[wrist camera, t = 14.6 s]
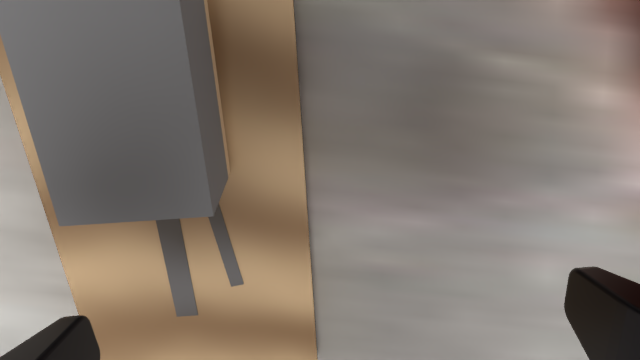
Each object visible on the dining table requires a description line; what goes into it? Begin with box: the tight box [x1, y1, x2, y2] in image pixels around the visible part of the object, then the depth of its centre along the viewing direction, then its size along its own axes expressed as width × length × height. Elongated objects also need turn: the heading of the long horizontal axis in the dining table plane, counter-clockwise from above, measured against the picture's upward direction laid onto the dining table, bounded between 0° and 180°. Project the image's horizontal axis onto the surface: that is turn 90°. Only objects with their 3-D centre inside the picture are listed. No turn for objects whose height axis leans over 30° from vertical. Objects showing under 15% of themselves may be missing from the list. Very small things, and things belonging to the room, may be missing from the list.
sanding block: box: [0, 0, 231, 226], centre depth 15 cm, size 8×5×4 cm, turn 3°
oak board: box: [0, 0, 317, 360], centre depth 20 cm, size 18×11×1 cm, turn 3°
